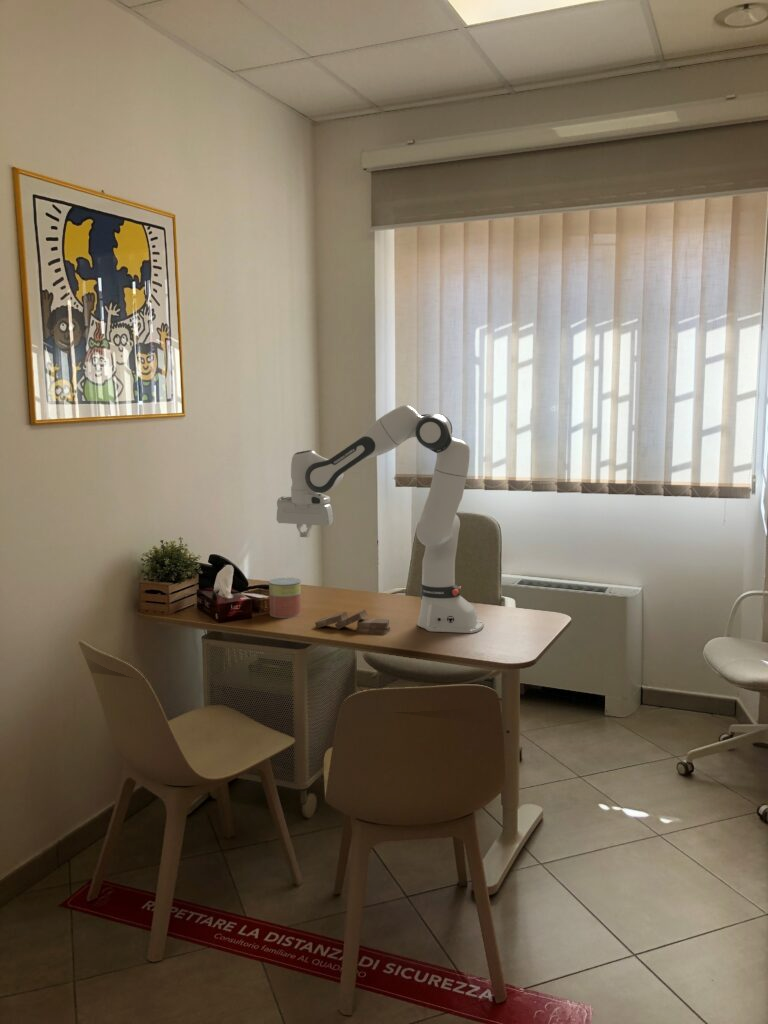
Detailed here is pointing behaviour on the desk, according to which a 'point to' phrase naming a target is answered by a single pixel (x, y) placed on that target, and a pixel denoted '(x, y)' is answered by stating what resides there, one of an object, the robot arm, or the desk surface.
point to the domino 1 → (331, 620)
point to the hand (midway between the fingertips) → (304, 537)
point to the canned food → (285, 597)
